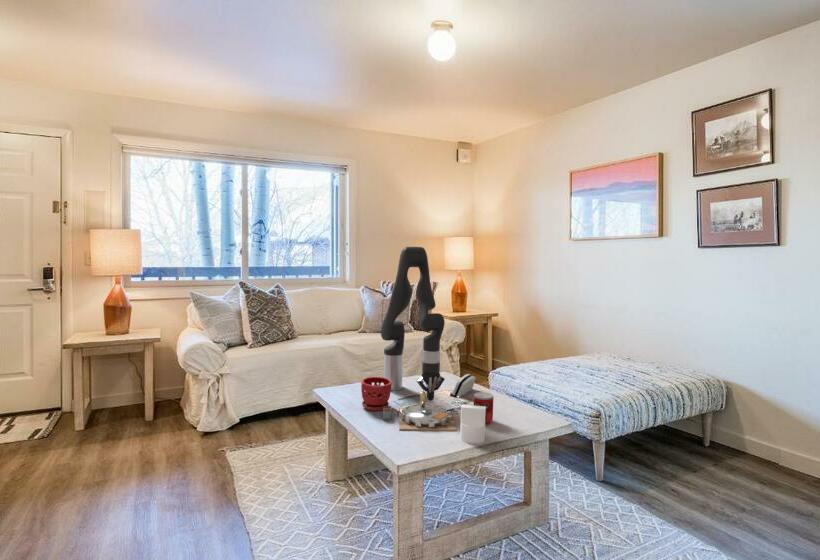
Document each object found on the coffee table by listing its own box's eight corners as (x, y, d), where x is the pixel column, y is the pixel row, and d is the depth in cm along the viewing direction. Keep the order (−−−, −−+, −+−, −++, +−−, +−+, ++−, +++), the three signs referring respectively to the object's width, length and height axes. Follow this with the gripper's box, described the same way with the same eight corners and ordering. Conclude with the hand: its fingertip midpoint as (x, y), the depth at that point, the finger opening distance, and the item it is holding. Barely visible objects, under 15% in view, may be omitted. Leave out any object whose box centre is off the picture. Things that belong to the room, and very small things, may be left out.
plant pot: (359, 412, 199) (359, 384, 198) (363, 402, 212) (363, 375, 211) (390, 413, 198) (390, 385, 197) (392, 402, 211) (392, 376, 210)
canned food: (469, 420, 192) (469, 394, 191) (482, 416, 197) (483, 390, 196) (483, 426, 186) (484, 399, 185) (496, 421, 191) (497, 395, 190)
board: (399, 410, 202) (399, 408, 202) (450, 410, 203) (450, 408, 203) (399, 430, 180) (399, 428, 180) (456, 430, 181) (456, 428, 181)
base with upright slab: (459, 442, 170) (460, 410, 170) (461, 432, 179) (461, 401, 178) (484, 444, 169) (485, 412, 168) (484, 434, 178) (485, 403, 177)
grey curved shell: (463, 387, 237) (469, 369, 234) (471, 391, 235) (478, 374, 232) (448, 396, 222) (455, 377, 220) (457, 401, 220) (464, 382, 218)
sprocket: (397, 409, 200) (398, 391, 199) (444, 407, 203) (445, 389, 203) (405, 428, 180) (406, 408, 179) (457, 425, 183) (457, 405, 183)
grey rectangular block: (383, 415, 196) (383, 405, 196) (391, 415, 196) (391, 405, 196) (382, 420, 190) (383, 410, 190) (390, 420, 190) (391, 410, 190)
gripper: (440, 356, 206) (439, 395, 207) (413, 359, 200) (412, 399, 201) (449, 360, 199) (448, 400, 200) (421, 364, 193) (420, 405, 195)
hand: (430, 400), depth 201 cm, fingers closed
